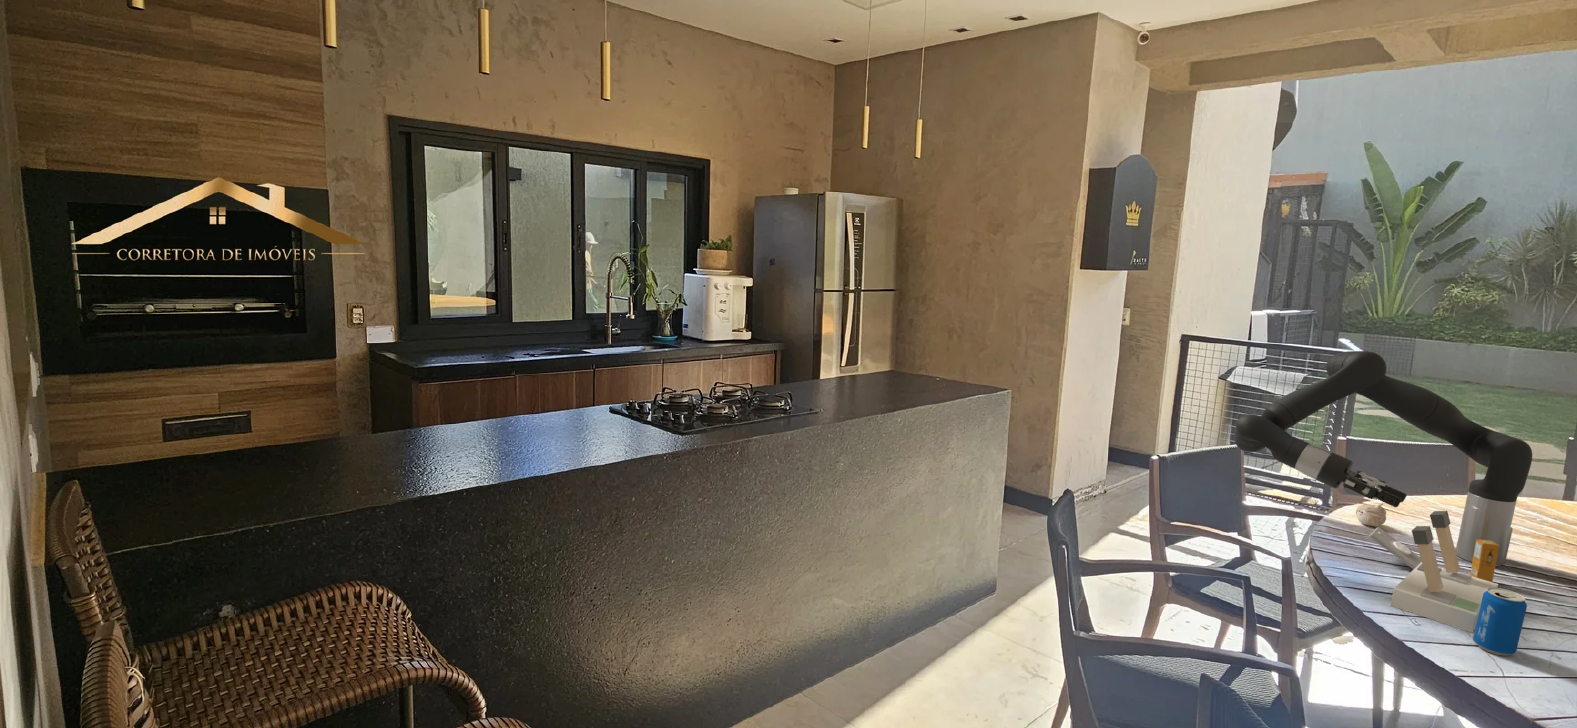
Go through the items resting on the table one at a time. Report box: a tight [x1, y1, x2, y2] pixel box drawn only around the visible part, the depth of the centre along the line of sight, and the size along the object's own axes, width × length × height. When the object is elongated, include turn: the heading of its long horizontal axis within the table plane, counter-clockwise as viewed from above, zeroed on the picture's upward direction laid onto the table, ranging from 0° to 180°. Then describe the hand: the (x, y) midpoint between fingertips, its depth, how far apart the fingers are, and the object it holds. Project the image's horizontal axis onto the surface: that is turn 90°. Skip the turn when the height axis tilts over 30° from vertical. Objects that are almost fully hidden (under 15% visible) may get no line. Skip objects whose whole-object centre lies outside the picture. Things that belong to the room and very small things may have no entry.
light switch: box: [1368, 526, 1422, 571], centre depth 194 cm, size 8×5×13 cm
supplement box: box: [1469, 539, 1499, 582], centre depth 185 cm, size 3×3×10 cm
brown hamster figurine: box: [1355, 502, 1387, 528], centre depth 219 cm, size 7×6×8 cm
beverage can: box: [1472, 587, 1528, 657], centre depth 154 cm, size 6×6×12 cm
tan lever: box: [1411, 525, 1443, 592], centre depth 168 cm, size 2×4×14 cm, turn 129°
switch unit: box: [1390, 562, 1499, 633], centre depth 173 cm, size 14×24×4 cm, turn 129°
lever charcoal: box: [1429, 510, 1461, 573], centre depth 178 cm, size 2×4×14 cm, turn 128°
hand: (1402, 501), depth 172 cm, fingers open, 8 cm apart
